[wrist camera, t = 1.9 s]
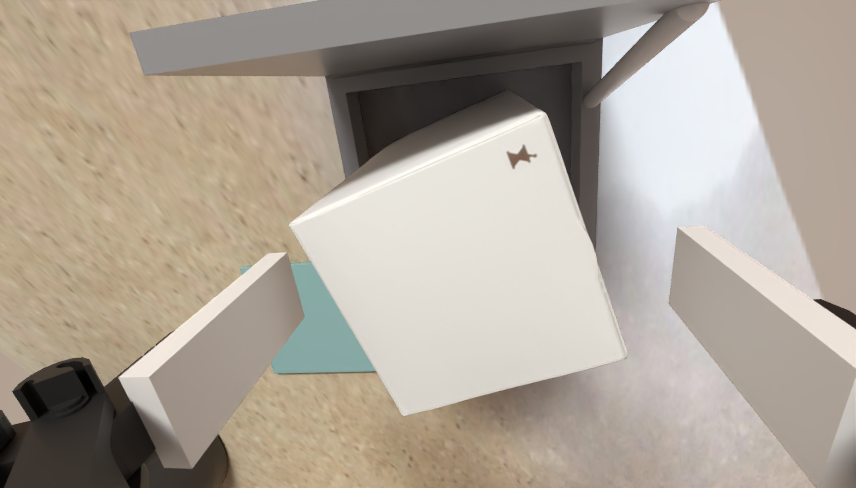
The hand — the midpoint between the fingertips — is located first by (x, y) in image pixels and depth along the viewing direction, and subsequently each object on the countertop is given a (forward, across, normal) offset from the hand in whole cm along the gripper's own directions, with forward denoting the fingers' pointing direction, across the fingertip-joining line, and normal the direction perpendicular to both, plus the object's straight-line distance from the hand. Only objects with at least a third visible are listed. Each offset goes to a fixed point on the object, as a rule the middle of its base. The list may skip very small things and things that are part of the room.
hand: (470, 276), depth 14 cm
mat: (+14, -14, -10) cm, 22 cm away
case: (+14, 0, 0) cm, 14 cm away
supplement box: (+14, 0, 0) cm, 14 cm away
